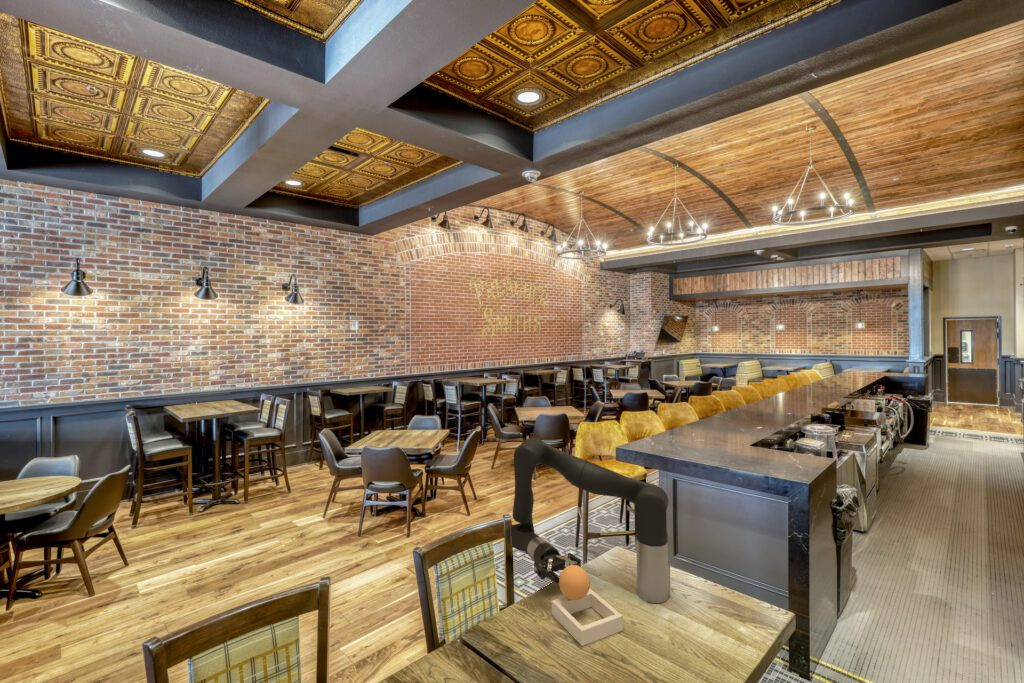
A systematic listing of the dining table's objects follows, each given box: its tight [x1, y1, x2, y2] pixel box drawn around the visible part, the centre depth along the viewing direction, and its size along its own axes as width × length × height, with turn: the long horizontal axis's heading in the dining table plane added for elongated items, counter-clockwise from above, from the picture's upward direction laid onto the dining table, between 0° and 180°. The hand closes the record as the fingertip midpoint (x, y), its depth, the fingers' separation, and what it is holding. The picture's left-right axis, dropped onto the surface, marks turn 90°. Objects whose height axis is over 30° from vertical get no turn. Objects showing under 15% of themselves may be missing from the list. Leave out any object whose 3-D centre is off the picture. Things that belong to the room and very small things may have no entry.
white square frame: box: [551, 588, 624, 647], centre depth 127 cm, size 14×15×4 cm
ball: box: [558, 564, 591, 600], centre depth 132 cm, size 9×9×9 cm
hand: (570, 576), depth 134 cm, fingers open, 8 cm apart
